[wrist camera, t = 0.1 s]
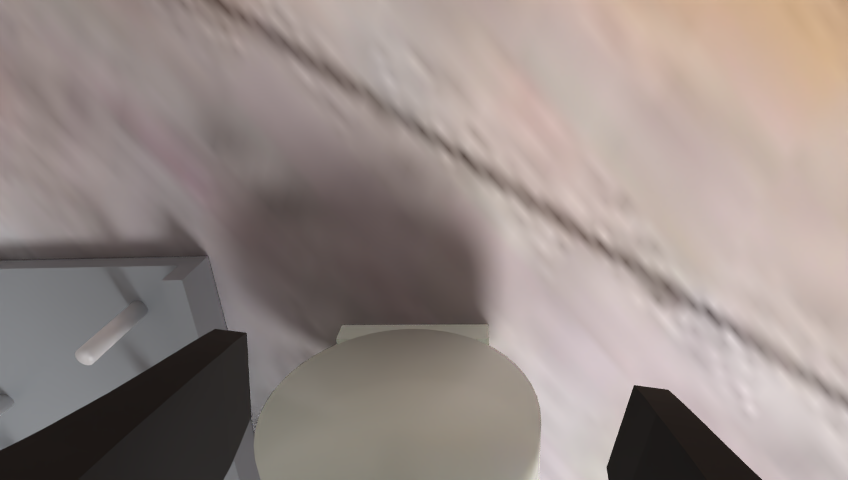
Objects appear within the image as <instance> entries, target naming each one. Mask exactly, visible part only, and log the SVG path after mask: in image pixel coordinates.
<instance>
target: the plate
mask: <svg viewBox="0 0 848 480" xmlns="http://www.w3.org/2000/svg"><path fill="white" fill-rule="evenodd" d="M336 342H337V345H334V346H332V347H330V348H327V349H326V350H324V351H322V352H320V353H318V354H316V355H314V356H313V357H311V358H310V359H308V360H307V361H305V362H304V363H302V364H301V365H300V366H298V367H297V368H296V369H295V370H293V371H292V372H291V373H290V374H289V375H288V376H287V377H286V378H285V379H284V380H283V381H282V382H281V383H280V384H279V385H278V386H277V388H276V389H275V390H274V391H273V392H272V394H271V395H270V397H269V398H268V400H267V402H266V403H265V405H264V407H263V409H262V411H261V414H260V416H259V418H258V422H257V425H256V429H255V435H254V454H255V461H256V465H257V469H258V473H259V477H260V480H539V469H540V439H541V415H540V407H539V403H538V399H537V396H536V393H535V391H534V389H533V387H532V385H531V383H530V382H529V380H528V379H527V377H526V376H525V374H524V373H523V372H522V371H521V370H520V369H519V367H518V366H517V365H516V364H515V363H514V362H512V361H511V360H510V359H509V358H508V357H506V356H505V355H504V354H502V353H501V352H499V351H497V350H496V349H494V348H492V347H490V346H489V332H488V324H449V325H342V326H341V329H340V331H339V333H338V336H337V338H336Z"/></svg>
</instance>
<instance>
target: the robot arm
mask: <svg viewBox="0 0 848 480" xmlns="http://www.w3.org/2000/svg"><path fill="white" fill-rule="evenodd" d="M250 419H251V405H250V386H249V367H248V349H247V333H243V332H235V331H228V330H221V329H214V330H212V331H210V332H208V333H207V334H205V335H203V336H201V337H200V338H198V339H196V340H195V341H193V342H191V343H190V344H188V345H186V346H185V347H183V348H182V349H180V350H178V351H177V352H175V353H173V354H172V355H170V356H169V357H167V358H165V359H164V360H162V361H160V362H159V363H157V364H156V365H154V366H152V367H151V368H149V369H147V370H146V371H144V372H142V373H141V374H139V375H137V376H136V377H134V378H132V379H131V380H129V381H127V382H126V383H124V384H122V385H121V386H119V387H117V388H116V389H114V390H112V391H111V392H109V393H107V394H105V395H103V396H102V397H100V398H98V399H96V400H94V401H93V402H91V403H89V404H87V405H85V406H84V407H82V408H80V409H78V410H76V411H75V412H73V413H71V414H69V415H67V416H65V417H64V418H62V419H60V420H58V421H56V422H55V423H53V424H51V425H49V426H47V427H46V428H44V429H42V430H40V431H38V432H36V433H34V434H32V435H30V436H28V437H26V438H24V439H22V440H20V441H18V442H16V443H14V444H12V445H10V446H8V447H6V448H4V449H2V450H0V480H224V478H225V476H226V474H227V473H228V471H229V469H230V467H231V465H232V462H233V460H234V458H235V455H236V453H237V451H238V448H239V446H240V444H241V441H242V439H243V436H244V434H245V431H246V429H247V426H248V424H249V421H250ZM607 473H608V479H609V480H762V479H761V478H760V477H759V476H758V475H757V474H755V473H754V472H753V471H752V470H751V469H750V468H749V467H748V466H747V465H746V464H745V463H744V462H743V461H742V460H741V459H740V458H739V457H738V456H737V455H736V454H735V453H734V452H733V451H732V450H731V449H730V448H728V447H727V446H726V445H725V444H724V443H723V442H722V441H721V440H720V439H719V438H718V437H717V436H716V435H715V434H714V433H713V432H712V431H711V430H710V429H709V428H708V427H707V426H706V425H705V424H704V423H703V422H702V421H701V420H700V419H699V418H698V417H697V416H696V415H695V414H694V413H693V412H692V411H691V410H690V409H689V408H687V407H686V406H685V405H684V404H683V403H682V402H681V401H680V400H679V399H678V398H677V397H676V396H675V395H673V394H672V393H671V392H670V391H669V390H665V389H658V388H651V387H643V386H636V385H634V387H633V390H632V393H631V396H630V399H629V402H628V405H627V408H626V411H625V414H624V417H623V420H622V423H621V426H620V429H619V432H618V435H617V438H616V441H615V444H614V447H613V450H612V453H611V456H610V459H609V462H608V465H607Z"/></svg>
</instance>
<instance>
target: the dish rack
mask: <svg viewBox="0 0 848 480" xmlns="http://www.w3.org/2000/svg"><path fill="white" fill-rule="evenodd" d="M214 329H221V330H227V327H226V323H225V320H224V316H223V312H222V308H221V304H220V300H219V296H218V293H217V289H216V285H215V281H214V277H213V273H212V269H211V266H210V262H209V258H208V256H190V257H143V258H95V259H48V260H1V261H0V450H2V449H4V448H6V447H8V446H10V445H12V444H14V443H16V442H18V441H20V440H22V439H24V438H26V437H28V436H30V435H32V434H34V433H36V432H38V431H40V430H42V429H44V428H46V427H47V426H49V425H51V424H53V423H55V422H56V421H58V420H60V419H62V418H64V417H65V416H67V415H69V414H71V413H73V412H75V411H76V410H78V409H80V408H82V407H84V406H85V405H87V404H89V403H91V402H93V401H94V400H96V399H98V398H100V397H102V396H103V395H105V394H107V393H109V392H111V391H112V390H114V389H116V388H117V387H119V386H121V385H122V384H124V383H126V382H127V381H129V380H131V379H132V378H134V377H136V376H137V375H139V374H141V373H142V372H144V371H146V370H147V369H149V368H151V367H152V366H154V365H156V364H157V363H159V362H160V361H162V360H164V359H165V358H167V357H169V356H170V355H172V354H173V353H175V352H177V351H178V350H180V349H182V348H183V347H185V346H186V345H188V344H190V343H191V342H193V341H195V340H196V339H198V338H200V337H201V336H203V335H205V334H207V333H208V332H210V331H212V330H214ZM224 480H260V477H259V473H258V469H257V465H256V461H255V454H254V432H253V428H252V424H251V420H250V421H249V424H248V426H247V429H246V431H245V434H244V436H243V439H242V441H241V444H240V446H239V448H238V451H237V453H236V455H235V458H234V460H233V462H232V465H231V467H230V469H229V471H228V473H227V474H226V476H225V478H224Z"/></svg>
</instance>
